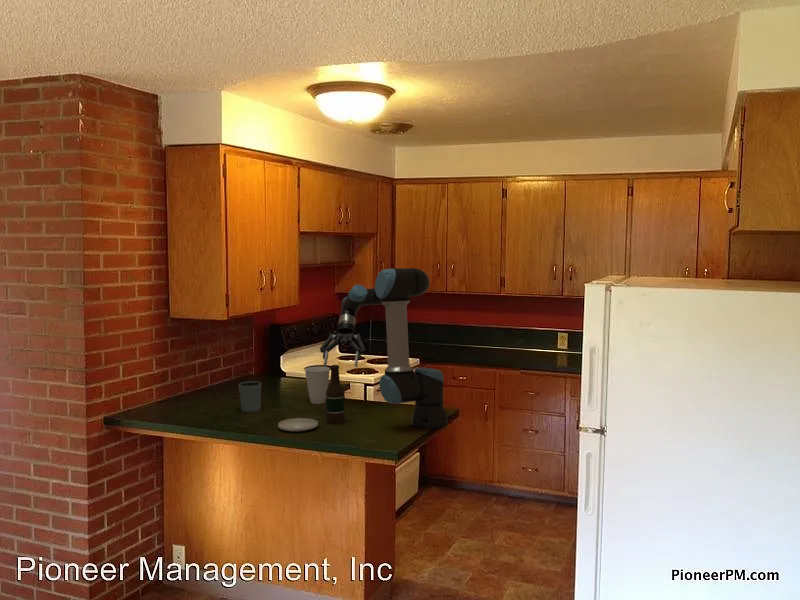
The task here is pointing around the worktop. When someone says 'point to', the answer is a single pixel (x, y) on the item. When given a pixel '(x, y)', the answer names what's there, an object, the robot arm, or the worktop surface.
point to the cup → (317, 383)
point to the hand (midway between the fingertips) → (340, 365)
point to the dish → (298, 424)
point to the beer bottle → (335, 398)
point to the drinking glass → (250, 396)
